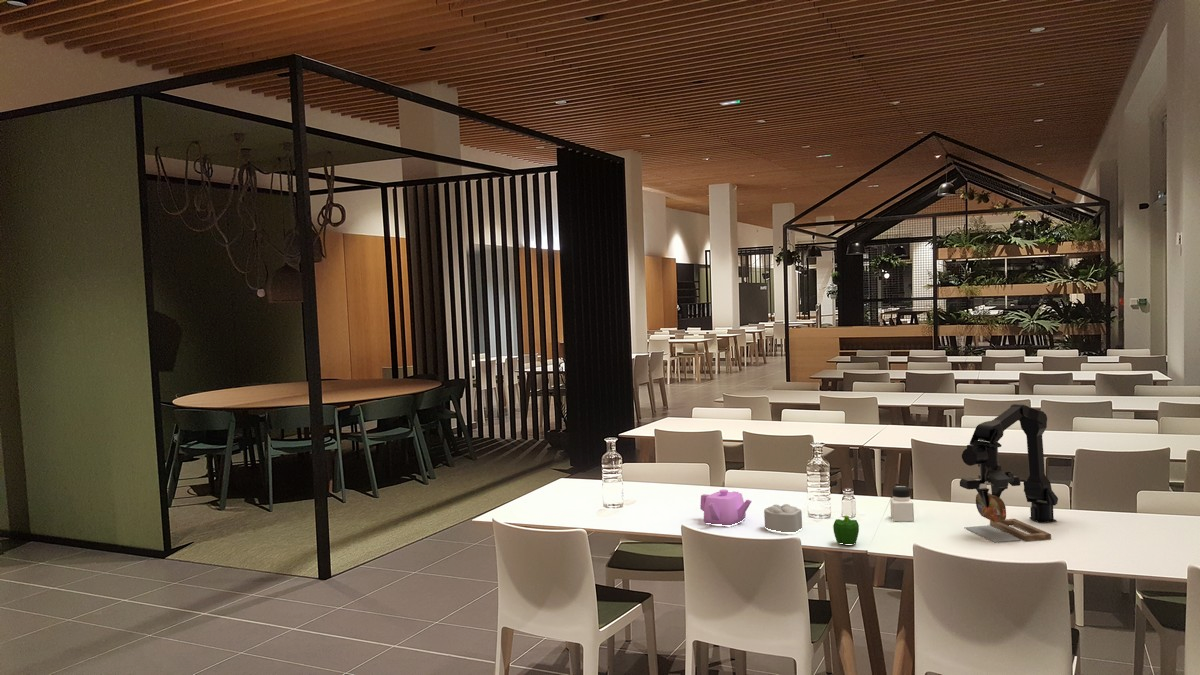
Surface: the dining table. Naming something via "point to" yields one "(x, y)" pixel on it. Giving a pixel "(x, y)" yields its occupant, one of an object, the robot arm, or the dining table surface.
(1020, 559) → the dining table surface
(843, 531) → the bell pepper
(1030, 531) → the frame
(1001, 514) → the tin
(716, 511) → the teakettle
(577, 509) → the dining table surface
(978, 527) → the grey mat
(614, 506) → the dining table surface
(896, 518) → the medicine bottle
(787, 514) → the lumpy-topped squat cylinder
